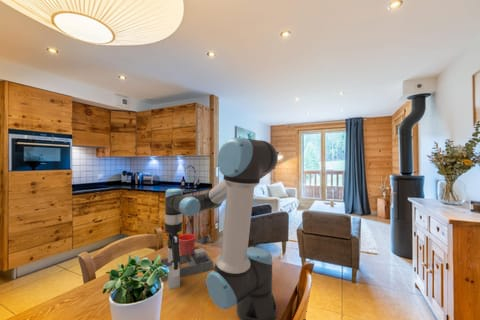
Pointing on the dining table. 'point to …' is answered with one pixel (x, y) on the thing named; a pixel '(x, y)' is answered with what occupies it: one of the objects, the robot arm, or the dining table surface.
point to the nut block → (173, 279)
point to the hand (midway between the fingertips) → (172, 268)
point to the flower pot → (186, 243)
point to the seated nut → (199, 255)
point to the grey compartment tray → (190, 265)
